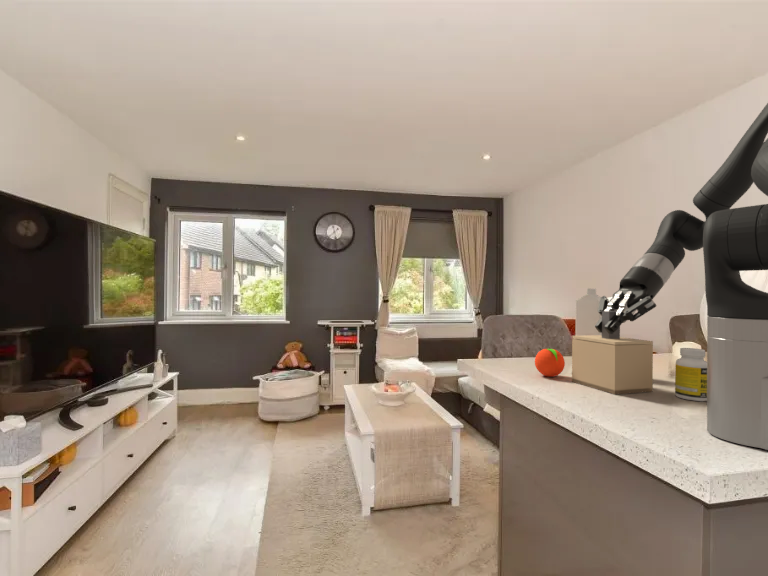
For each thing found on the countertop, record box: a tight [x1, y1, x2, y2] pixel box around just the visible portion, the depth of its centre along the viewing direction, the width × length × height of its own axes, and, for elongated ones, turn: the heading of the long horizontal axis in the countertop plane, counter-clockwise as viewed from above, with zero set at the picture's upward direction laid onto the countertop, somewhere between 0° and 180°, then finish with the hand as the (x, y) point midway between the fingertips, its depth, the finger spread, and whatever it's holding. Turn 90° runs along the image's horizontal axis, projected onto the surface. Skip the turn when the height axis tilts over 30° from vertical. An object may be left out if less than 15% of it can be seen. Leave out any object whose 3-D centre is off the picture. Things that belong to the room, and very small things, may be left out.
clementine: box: [534, 347, 566, 378], centre depth 99 cm, size 8×7×7 cm
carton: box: [571, 338, 654, 395], centre depth 89 cm, size 12×10×10 cm
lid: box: [572, 311, 654, 345], centre depth 89 cm, size 12×10×7 cm
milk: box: [575, 288, 602, 336], centre depth 106 cm, size 6×6×22 cm
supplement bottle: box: [674, 347, 707, 402], centre depth 80 cm, size 5×5×10 cm
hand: (603, 330), depth 89 cm, fingers closed on lid, 2 cm apart
